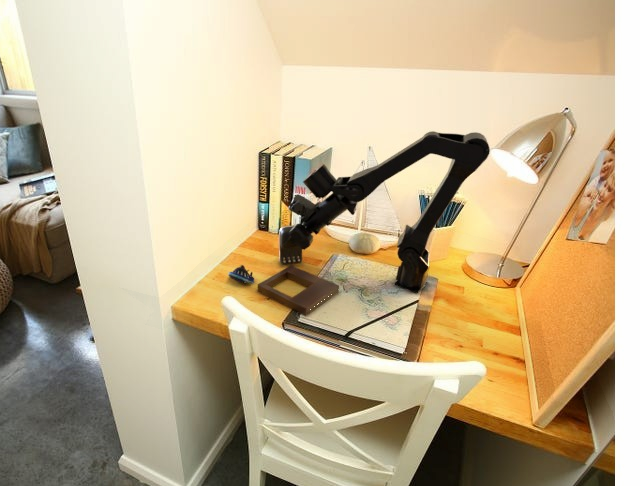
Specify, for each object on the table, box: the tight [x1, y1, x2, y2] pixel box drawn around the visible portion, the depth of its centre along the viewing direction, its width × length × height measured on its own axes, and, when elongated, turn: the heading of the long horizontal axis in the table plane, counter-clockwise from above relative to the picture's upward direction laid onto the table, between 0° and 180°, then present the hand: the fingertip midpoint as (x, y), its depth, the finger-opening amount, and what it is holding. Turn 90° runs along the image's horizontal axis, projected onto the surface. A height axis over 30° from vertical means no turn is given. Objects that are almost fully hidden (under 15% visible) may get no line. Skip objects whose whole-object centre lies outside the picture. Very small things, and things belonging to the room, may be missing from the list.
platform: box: [257, 264, 340, 317], centre depth 104 cm, size 16×14×2 cm
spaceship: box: [227, 264, 255, 285], centre depth 110 cm, size 7×6×5 cm
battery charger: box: [278, 224, 303, 266], centre depth 115 cm, size 7×4×11 cm, turn 97°
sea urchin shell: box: [348, 232, 381, 255], centre depth 123 cm, size 9×8×8 cm
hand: (287, 242), depth 115 cm, fingers closed on battery charger, 6 cm apart
